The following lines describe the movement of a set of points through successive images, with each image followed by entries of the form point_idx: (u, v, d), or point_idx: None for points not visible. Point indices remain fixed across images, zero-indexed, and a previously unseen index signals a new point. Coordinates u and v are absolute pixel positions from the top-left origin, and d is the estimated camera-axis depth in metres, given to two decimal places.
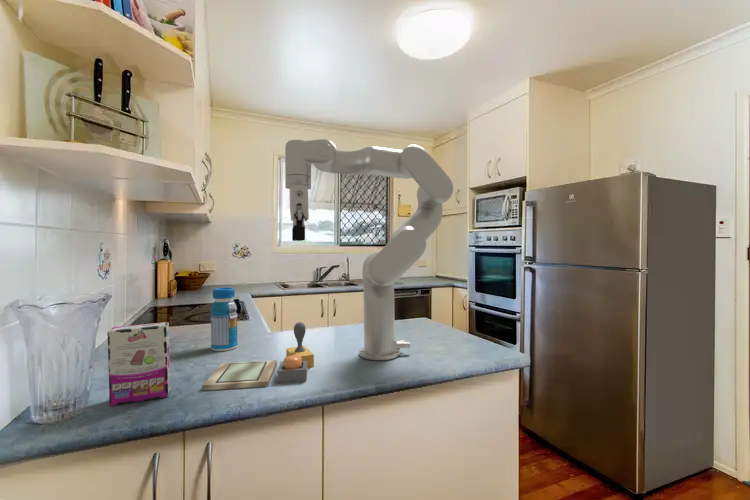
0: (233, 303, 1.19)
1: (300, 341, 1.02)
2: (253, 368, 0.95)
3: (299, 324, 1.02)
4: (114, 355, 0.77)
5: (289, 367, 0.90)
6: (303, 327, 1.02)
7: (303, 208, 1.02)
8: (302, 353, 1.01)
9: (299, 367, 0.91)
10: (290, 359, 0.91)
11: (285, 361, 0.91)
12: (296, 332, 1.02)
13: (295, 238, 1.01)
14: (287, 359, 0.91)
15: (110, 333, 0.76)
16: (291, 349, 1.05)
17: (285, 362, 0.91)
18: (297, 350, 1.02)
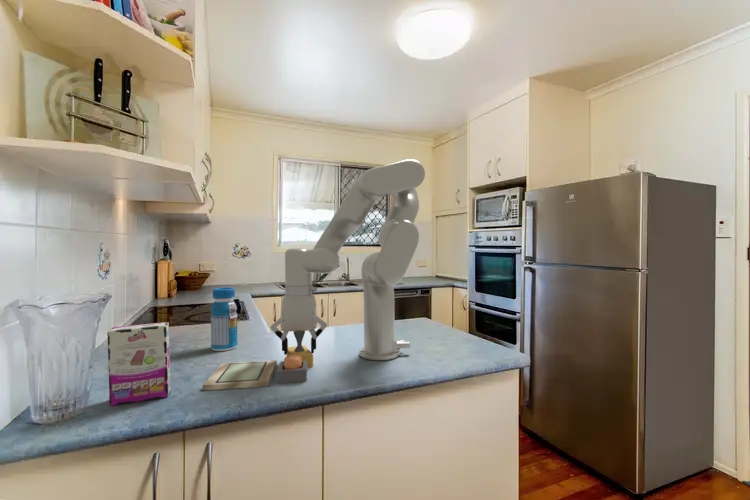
0: (233, 303, 1.19)
1: (300, 341, 1.02)
2: (253, 368, 0.95)
3: None
4: (114, 355, 0.77)
5: (289, 367, 0.90)
6: None
7: None
8: (301, 352, 1.01)
9: (299, 367, 0.91)
10: (290, 359, 0.91)
11: (285, 361, 0.91)
12: (295, 332, 1.02)
13: (313, 351, 1.03)
14: (287, 359, 0.91)
15: (110, 333, 0.76)
16: (291, 349, 1.05)
17: (285, 362, 0.91)
18: (296, 350, 1.02)
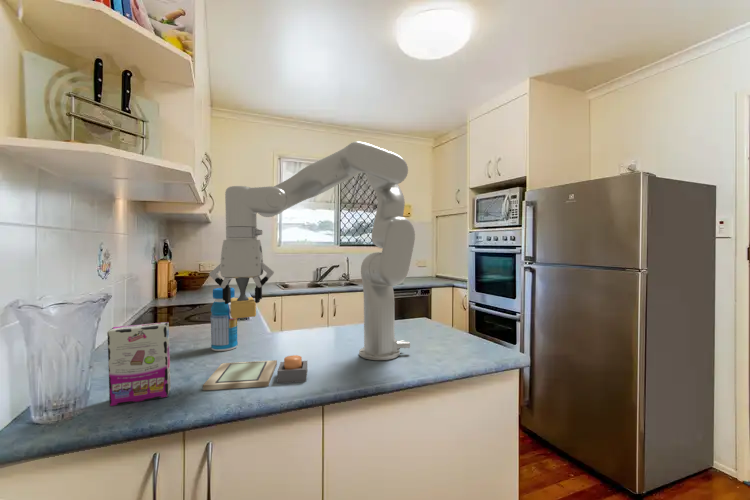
0: None
1: (242, 289, 0.92)
2: (253, 368, 0.95)
3: None
4: (114, 355, 0.77)
5: (289, 367, 0.90)
6: None
7: None
8: (243, 301, 0.91)
9: (299, 367, 0.91)
10: (290, 359, 0.91)
11: (285, 361, 0.91)
12: (237, 278, 0.92)
13: (258, 300, 0.93)
14: (287, 359, 0.91)
15: (110, 333, 0.76)
16: (235, 299, 0.95)
17: (285, 362, 0.91)
18: (239, 299, 0.92)
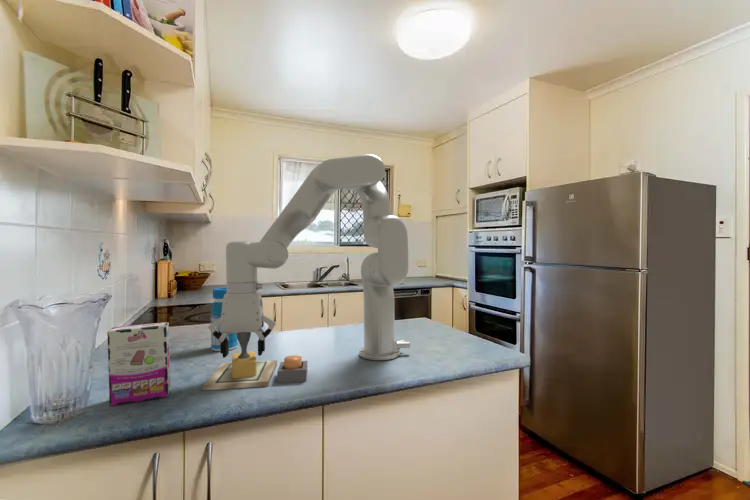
0: None
1: (244, 346, 0.93)
2: None
3: None
4: (114, 355, 0.77)
5: (289, 367, 0.90)
6: None
7: None
8: (244, 359, 0.91)
9: (299, 367, 0.91)
10: (290, 359, 0.91)
11: (285, 361, 0.91)
12: (238, 336, 0.92)
13: (261, 353, 0.93)
14: (287, 359, 0.91)
15: (110, 333, 0.76)
16: (236, 355, 0.95)
17: (285, 362, 0.91)
18: (240, 356, 0.92)
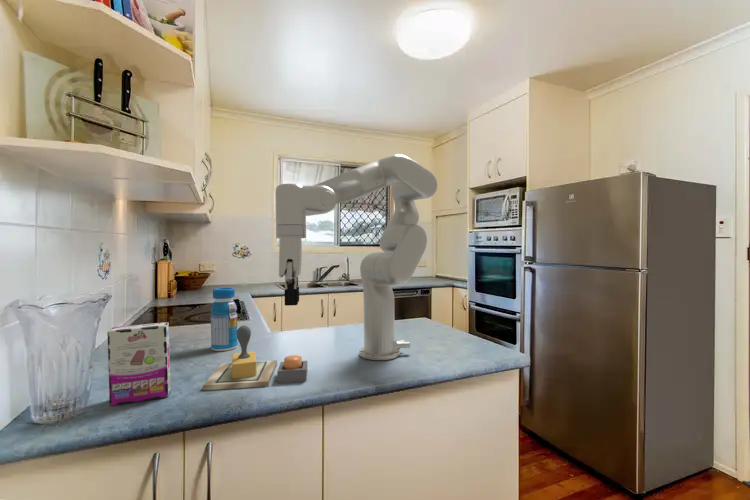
0: (233, 303, 1.19)
1: (244, 346, 0.93)
2: None
3: (242, 327, 0.92)
4: (114, 355, 0.77)
5: (289, 367, 0.90)
6: (247, 331, 0.92)
7: None
8: (244, 359, 0.91)
9: (299, 367, 0.91)
10: (290, 359, 0.91)
11: (285, 361, 0.91)
12: (238, 336, 0.92)
13: None
14: (287, 359, 0.91)
15: (110, 333, 0.76)
16: (236, 355, 0.95)
17: (285, 362, 0.91)
18: (240, 356, 0.92)
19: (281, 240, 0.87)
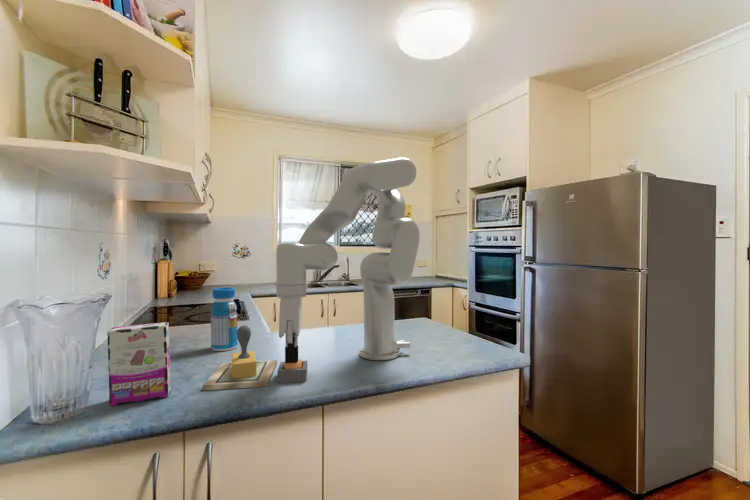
0: (233, 303, 1.19)
1: (244, 346, 0.93)
2: None
3: (242, 327, 0.92)
4: (114, 355, 0.77)
5: None
6: (247, 331, 0.92)
7: None
8: (244, 359, 0.91)
9: None
10: None
11: (285, 365, 0.91)
12: (238, 336, 0.92)
13: None
14: (287, 363, 0.91)
15: (110, 333, 0.76)
16: (236, 355, 0.95)
17: (285, 366, 0.91)
18: (240, 356, 0.92)
19: (281, 301, 0.87)
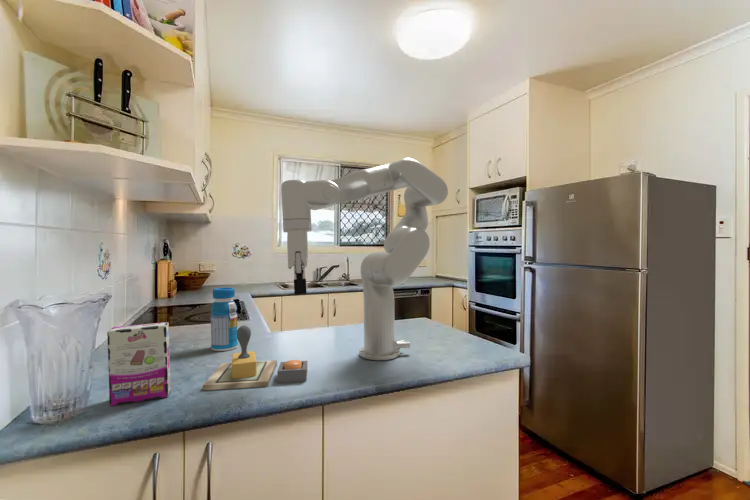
0: (233, 303, 1.19)
1: (244, 346, 0.93)
2: None
3: (242, 327, 0.92)
4: (114, 355, 0.77)
5: None
6: (247, 331, 0.92)
7: None
8: (244, 359, 0.91)
9: None
10: (290, 363, 0.91)
11: (285, 366, 0.91)
12: (238, 336, 0.92)
13: None
14: (287, 364, 0.91)
15: (110, 333, 0.76)
16: (236, 355, 0.95)
17: (285, 367, 0.91)
18: (240, 356, 0.92)
19: (289, 234, 0.92)
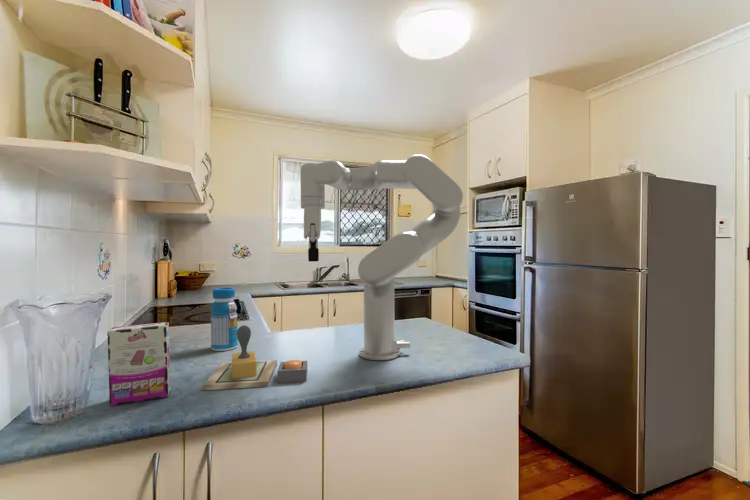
0: (233, 303, 1.19)
1: (244, 346, 0.93)
2: None
3: (242, 327, 0.92)
4: (114, 355, 0.77)
5: None
6: (247, 331, 0.92)
7: None
8: (244, 359, 0.91)
9: None
10: (290, 363, 0.91)
11: (285, 366, 0.91)
12: (238, 336, 0.92)
13: None
14: (287, 364, 0.91)
15: (110, 333, 0.76)
16: (236, 355, 0.95)
17: (285, 367, 0.91)
18: (240, 356, 0.92)
19: (305, 208, 1.09)
